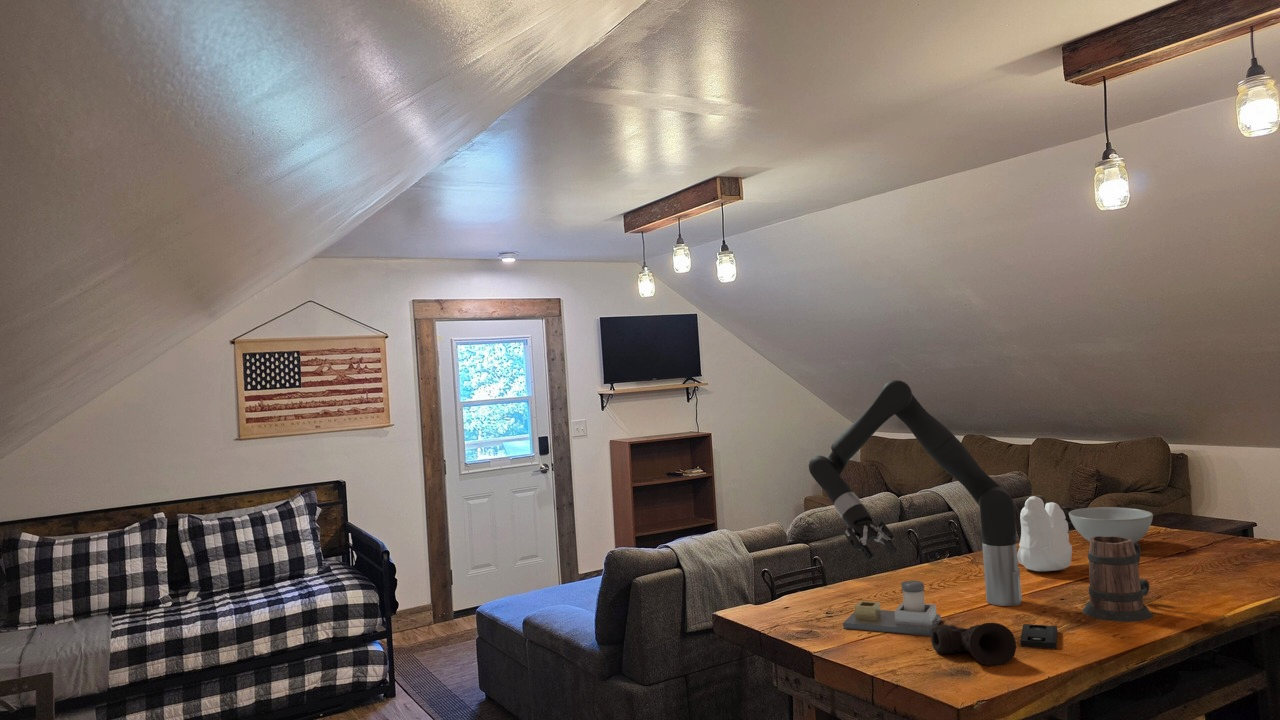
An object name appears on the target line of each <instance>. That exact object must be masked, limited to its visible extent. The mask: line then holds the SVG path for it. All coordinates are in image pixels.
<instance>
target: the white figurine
mask: <svg viewBox="0 0 1280 720" xmlns="http://www.w3.org/2000/svg"><path fill="white" fill-rule="evenodd" d="M1019 518H1020V519H1019V520H1020V530H1021V531H1020V533H1021V534H1020V541H1019V544H1018V545H1019V548H1018V549H1017V559H1018V564H1020V565H1023V566H1024V567H1025V569H1028V570H1030V571H1035V572H1052V571H1060V570H1061V571H1062V570H1065V569H1068V568H1069V567H1070V565H1071V564H1072V563H1071V562H1072V554H1073V551H1072V550H1073V546H1072V544H1071V543H1070V542H1069V541H1070V537H1069V536H1070V534H1069V533H1068V532H1069V523H1068V521H1067V520H1066V519H1067V518H1066V515H1065V512H1064V510H1063V509H1062V508H1061V507H1060V505H1059V504H1058V503H1056V502H1052V501H1051V502H1046V503H1044V501H1043V499H1042V498H1040V497H1039V496H1035V495H1032V496H1029V497H1028V498H1027V499H1026V500H1025V503H1024V507H1022V509H1021V510H1020V516H1019Z"/></svg>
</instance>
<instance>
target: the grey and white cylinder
mask: <svg viewBox="0 0 1280 720" xmlns="http://www.w3.org/2000/svg"><path fill="white" fill-rule="evenodd" d="M924 584H925V583H924V582H923V581H920V580H906V581H902V582H901V583H900V585H901V591H902V600H903V601H902V602H904V611H916V612H925V604H926V603H925V594H924V590H925V585H924Z"/></svg>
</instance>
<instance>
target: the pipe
mask: <svg viewBox="0 0 1280 720" xmlns="http://www.w3.org/2000/svg"><path fill="white" fill-rule="evenodd" d="M930 640H931V646H932V648H933V649H934V651H935V652H936V653H938V654H940V655H943V654H944V655H945V654H946V655H947V654H949V655H951V654H953V653H959V652H961V651H965V652H967V651H968V652H969V654H970V655H971V656H972V657H973V658H974V659H975V660H977V662H979V663H980V664H983V665H985V666H990V667H999V666H1004V665H1006V664H1008V663H1009V662H1011V661H1012V660H1013V658H1014V657H1015V655H1016V653H1017V652H1016V650H1017V644H1016V638H1015V635H1014V634H1013V632H1012V631H1011V630H1010V628H1008V627H1006V626H1005V625H1004V624H1001V623H997V622H984V623H980V624H975V625H972V626H970V627H969V628H964V627H957V626H955V625H952V624H951V625H950V624H949V625H948V624H941V625H939V624H938V625H937V626H935V627H933V628H932V630H931V636H930Z"/></svg>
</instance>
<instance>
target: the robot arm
mask: <svg viewBox="0 0 1280 720" xmlns="http://www.w3.org/2000/svg"><path fill="white" fill-rule="evenodd" d="M893 416H896V417H897V418H898V419H899V420H900V421H901V422H903V424H905V425H906V427H907V428H908V429H909V430H910V432H911V433H912V434H913V436H914V437H915V438H916V440H917V442H918V443H919V444H920V445H921V447H922V448H923V449H924V450H925V452H927V454H929V456H930V457H931V458H932V459H933V461H934V462H936V464H937V465H939V466H940V467H941V468H942V469H943V470H944V471H945V472H946V473H947V474H948V475H950V477H952V478H954V479H955V480H956V481H958V482H959V483H960V484H961V485H962V486H963V487H964V488H965V489H966V491H967V492H968V493H969V494H970V495H971V497H972V498H973V500H975V502H976V503H977V505H978V508H979V513H980V526H981V527H980V528H981V545H982V557H983V559H982V561H983V571H984V583H985V584H984V586H985V597H986V602H987V604H990V605H994V606H1002V607H1012V606H1020V605H1021V604H1022V600H1023V597H1022V585H1021V583H1022V582H1021V574H1020V573H1021V570H1020V567H1019V562H1018V559H1017V554H1018V549H1017V548H1018V547H1017V525H1016V511H1015V510H1016V508H1015V503H1014V499H1013V498H1012V496H1011V495H1010V493H1009V492H1008V491H1007V490H1006V489H1004V488H1003V487H1002V486H1001V485H999V484H998V483H997V482H996V481H995V480H993V478H992V477H991V476H989V475H988V473H986V472H985V471H984V470H983V469H982V468H981V466H980V465H979V464H978V462H977V461H976V460H975V458H974V457H973V456H972V454H971V452H970V451H968V449H967V448H966V447H965V446H964V444H963V443H962V442H961V441H960V439H958V437H956V436H955V435H954V433H953V432H951V430H949V429H948V427H946V426H945V425H944V424H943V423H941V422H940V421H939V420H938V419H936V418H935V417H934V416H933V415H931V414H930V413H929V412H928V411H927V409H925V408H924V407H923V406H922V404H921V403H920V402H919V401H918V399H917V398H916V397H915V396H914V394H913V393H912V389H911V386H909V385H908V384H907V383H906V381H905V382H904V381H902V380H899V379H898V380H897V379H894V380H893V379H892V380H889V381H887V382H886V383H885V384H883V385H882V387H881V389H880V392H879V394H878V395H877V396H876V398H875V400H874V401H873V402H872V403H871V405H870V406H869V407H868V408H867V410H865V411H864V413H863V414H861V415H860V416H859V418H857V419H856V420H855V421H854V422H852V423H851V424H850V425H849V426H848V427H847V428H846V429H845V430H844V431H843V432H842V433H841V434H840V435H839V436H838V437H836V440H834V442H832V444H831V446H830V449H831V452H830V454H829V455H828V457H827V456H824V455H816V456H813V457H812V458H811V459H810V460H809V463H808V472H809V473H810V475H811V477H812V478H813V479H814V481H815V482H816V483H817V484H818V485H819V487H821V489H823V490H824V492H825V494H826V495H827V497H828V499H829V500H830V501H831V502H832V504H833V506H834V507H835V510H836V512H837V513H838V515H839V516H840V518H841V519H842V521H843V522H844V524H845V525H846V526H847V528H846V530H845V532H844V534H843V535H844V536H845V537H846V539H847V541H848V543H849V544H850V546H851V547H852V549H854V550H857V549H858V550H860V551H861V552H862V553H863V555H864V557H865V558H866V559H868V561H872V560H873V559H874V558H875V554H874V553H873V551H872V550H871V548H870V547H869V545H867V542H869V541H875V542H876V543H881V544H883V546H884V547H885V548H886V550H887V552H888V553H889V554H890V556H895V555H896V553H897V548H896V546H895V544H894V543H893V542H892V540H893V539H894V538H895V535H894V534H893V532H892V531H891V530H890V528H888V526H887V525H886V523H885V522H884V521H880V522H879V523H875V522H874V521H873V518H872V517H873V516H872V514H870V512H869V510H868V509H867V508H866V506H865V505H864V504H863V502H862V501H861V499H860V498H859V497H858V496H857V494H855V492H854V491H853V490H852V488H851V487H850V485H849V483H847V481H846V480H845V479H844V478H842V477H841V474H842V472H843V471H844V469H845V468H846V466H847V465H848V463H849V461H850V460H851V459H852V458H853V457H854V456H855V455H856V454H857V453H858V452H859V451H860V449H862V447H864V446H865V444H866V443H867V442H868V441H869V440H870V438H871V437H872V436H873V435H874V434H875V433H876V431H878V429H879V428H881V426H882V425H883V424H884V423H885V422H887V421H888V420H889V419H890V418H892V417H893ZM823 490H822V491H823ZM878 534H879V535H878Z"/></svg>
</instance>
